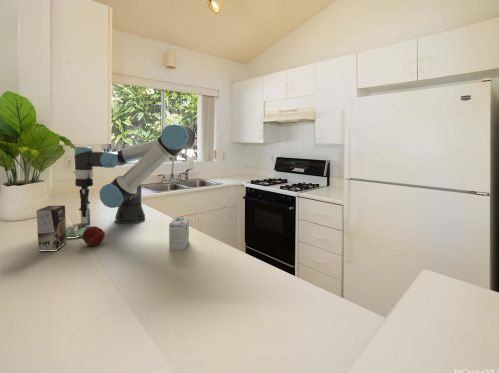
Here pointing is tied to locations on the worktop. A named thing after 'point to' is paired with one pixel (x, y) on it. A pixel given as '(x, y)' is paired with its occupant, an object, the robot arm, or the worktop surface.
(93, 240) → the apple
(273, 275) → the worktop surface
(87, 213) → the plug
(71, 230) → the board
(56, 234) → the coffee box
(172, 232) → the light bulb box
